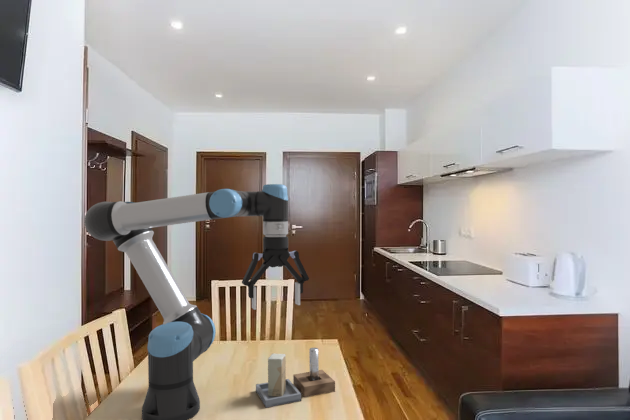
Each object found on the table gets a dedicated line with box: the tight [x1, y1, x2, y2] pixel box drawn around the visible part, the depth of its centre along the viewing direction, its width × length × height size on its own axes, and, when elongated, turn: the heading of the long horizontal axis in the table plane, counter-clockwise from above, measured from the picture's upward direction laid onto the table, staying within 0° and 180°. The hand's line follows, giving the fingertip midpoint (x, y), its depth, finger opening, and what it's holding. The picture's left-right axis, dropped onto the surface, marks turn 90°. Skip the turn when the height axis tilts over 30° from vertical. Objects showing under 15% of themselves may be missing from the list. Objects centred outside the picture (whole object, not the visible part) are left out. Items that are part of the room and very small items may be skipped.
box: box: [267, 353, 287, 397], centre depth 123 cm, size 5×4×11 cm
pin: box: [308, 347, 320, 381], centre depth 128 cm, size 3×3×12 cm
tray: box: [255, 378, 302, 408], centre depth 122 cm, size 11×12×2 cm
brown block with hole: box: [292, 369, 336, 398], centre depth 128 cm, size 10×10×3 cm
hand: (276, 306), depth 123 cm, fingers open, 13 cm apart
